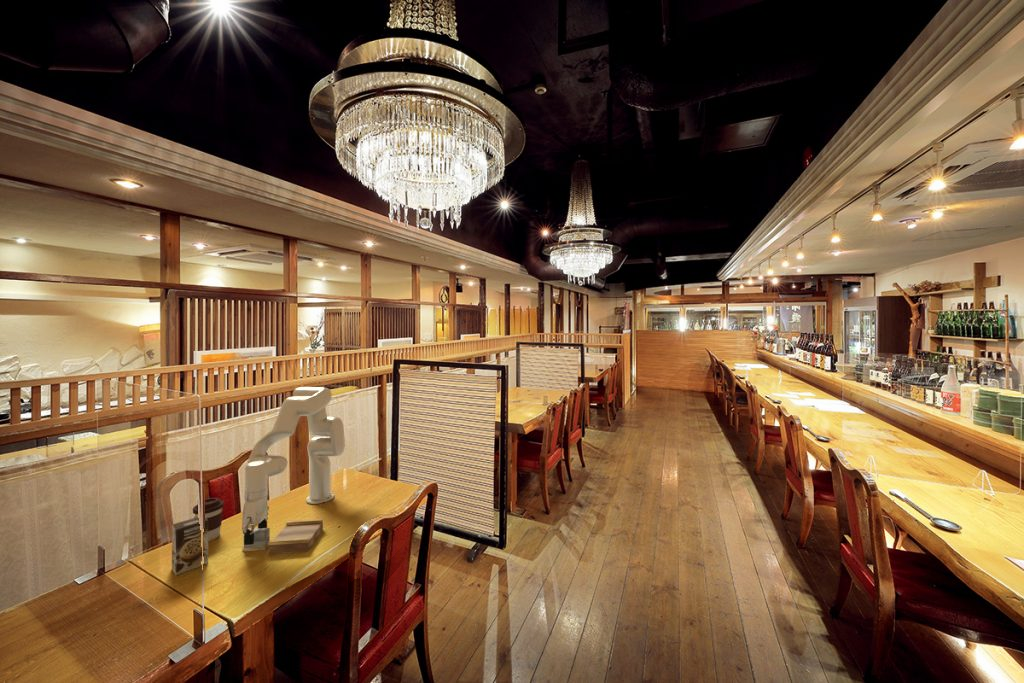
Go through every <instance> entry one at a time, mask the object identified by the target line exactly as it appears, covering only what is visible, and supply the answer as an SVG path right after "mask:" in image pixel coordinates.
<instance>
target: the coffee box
mask: <svg viewBox="0 0 1024 683" xmlns="http://www.w3.org/2000/svg"><path fill="white" fill-rule="evenodd" d="M203 557H204V564H205V565H207V564H209V541H208V519H207V518H206V517H205V528H204V532H203ZM201 561H202V547H201V530H200V524H199V518H198V517H196V518H194V517H192V518H190V519H187V520H183V521H179V522H176V523H173V524H172V525H171V570H172V571H173V572H172V573H173V574H174V573H175V574H174V575H175V576H178V575H177V574H179V575H181V574H180V573H182V574H184V573H186V572H185V571H187V572H189V571H192V570H194V569H193V568H195V569H197V568H200V567H202V566H201ZM191 569H192V570H191ZM188 570H189V571H188ZM183 572H184V573H183Z"/></svg>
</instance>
